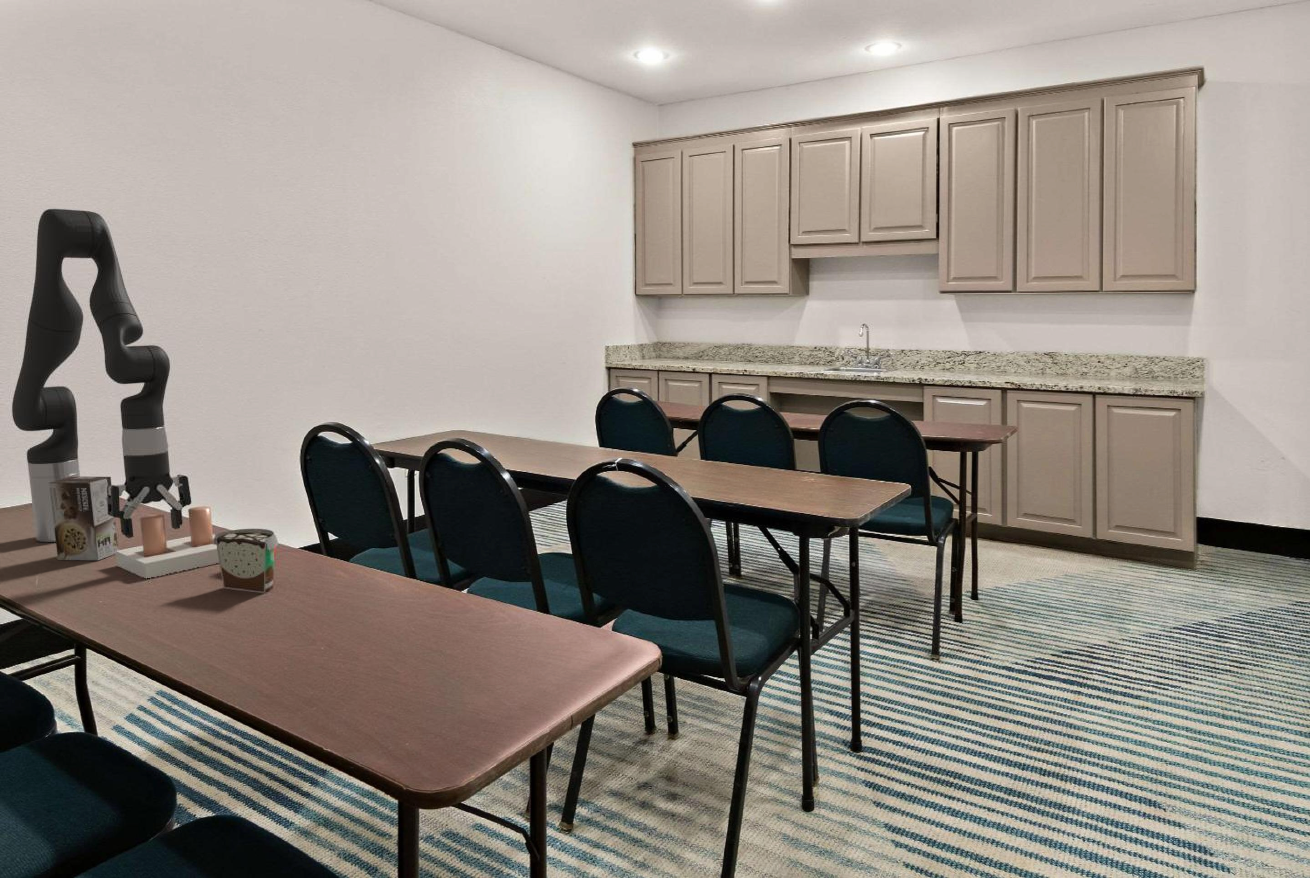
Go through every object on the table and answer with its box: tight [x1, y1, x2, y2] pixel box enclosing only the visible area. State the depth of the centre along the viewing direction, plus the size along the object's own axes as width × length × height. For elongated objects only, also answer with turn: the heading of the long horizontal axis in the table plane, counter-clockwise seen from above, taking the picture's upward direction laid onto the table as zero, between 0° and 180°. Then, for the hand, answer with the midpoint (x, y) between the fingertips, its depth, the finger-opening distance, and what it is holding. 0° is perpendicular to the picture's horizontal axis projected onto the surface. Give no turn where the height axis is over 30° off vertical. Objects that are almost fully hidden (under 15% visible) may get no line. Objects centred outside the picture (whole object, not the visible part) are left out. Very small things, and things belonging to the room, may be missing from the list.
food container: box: [214, 528, 279, 594], centre depth 161 cm, size 12×6×10 cm, turn 71°
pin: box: [139, 514, 167, 558], centre depth 173 cm, size 4×4×10 cm
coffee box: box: [49, 476, 119, 561], centre depth 180 cm, size 9×6×16 cm
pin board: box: [115, 506, 219, 580], centre depth 177 cm, size 14×18×10 cm
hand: (152, 532), depth 173 cm, fingers open, 8 cm apart
